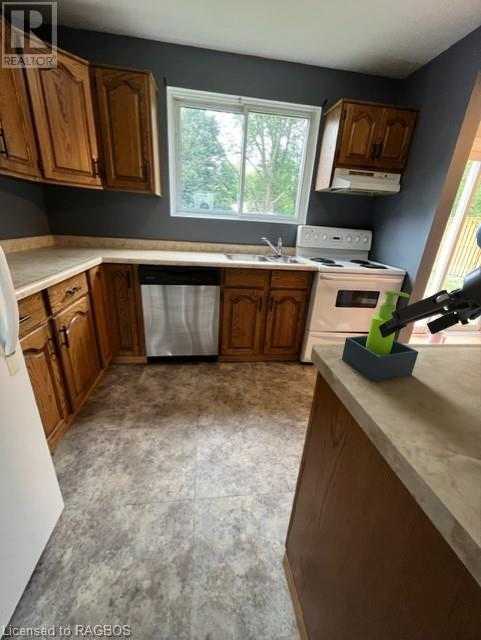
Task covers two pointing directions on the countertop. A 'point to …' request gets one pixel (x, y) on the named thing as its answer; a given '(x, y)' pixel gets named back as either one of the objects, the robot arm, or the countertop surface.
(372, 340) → the soap dispenser
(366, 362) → the box
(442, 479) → the countertop surface
